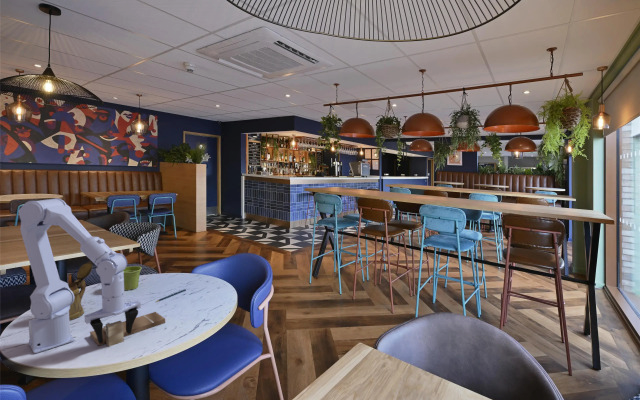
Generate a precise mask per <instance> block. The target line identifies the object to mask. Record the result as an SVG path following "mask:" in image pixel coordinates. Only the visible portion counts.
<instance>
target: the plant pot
mask: <svg viewBox="0 0 640 400" xmlns="http://www.w3.org/2000/svg"><path fill="white" fill-rule="evenodd" d="M142 269H143V268H142V266H140V265H139V266H138V265H136V266H135V265H133V266H127V267H126V268H125V269H124V270H123V271H124V291H130V290H135V289H137V288H139V281H140V276H141V275H140V273H141V270H142ZM121 272H122V271H121Z"/></svg>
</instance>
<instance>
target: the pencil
mask: <svg viewBox="0 0 640 400" xmlns="http://www.w3.org/2000/svg"><path fill="white" fill-rule="evenodd" d="M186 291H187V290H186V289H185V288H184V289H182V290H179V291H176V292H173V293H171V294H169V295H167V296H164V297H162V298H160V299H157V300H156V301H155V303H159V302H161V301H164V300H166V299H169V298H171V297H173V296H176V295H179V294H181V293H184V292H186Z"/></svg>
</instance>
